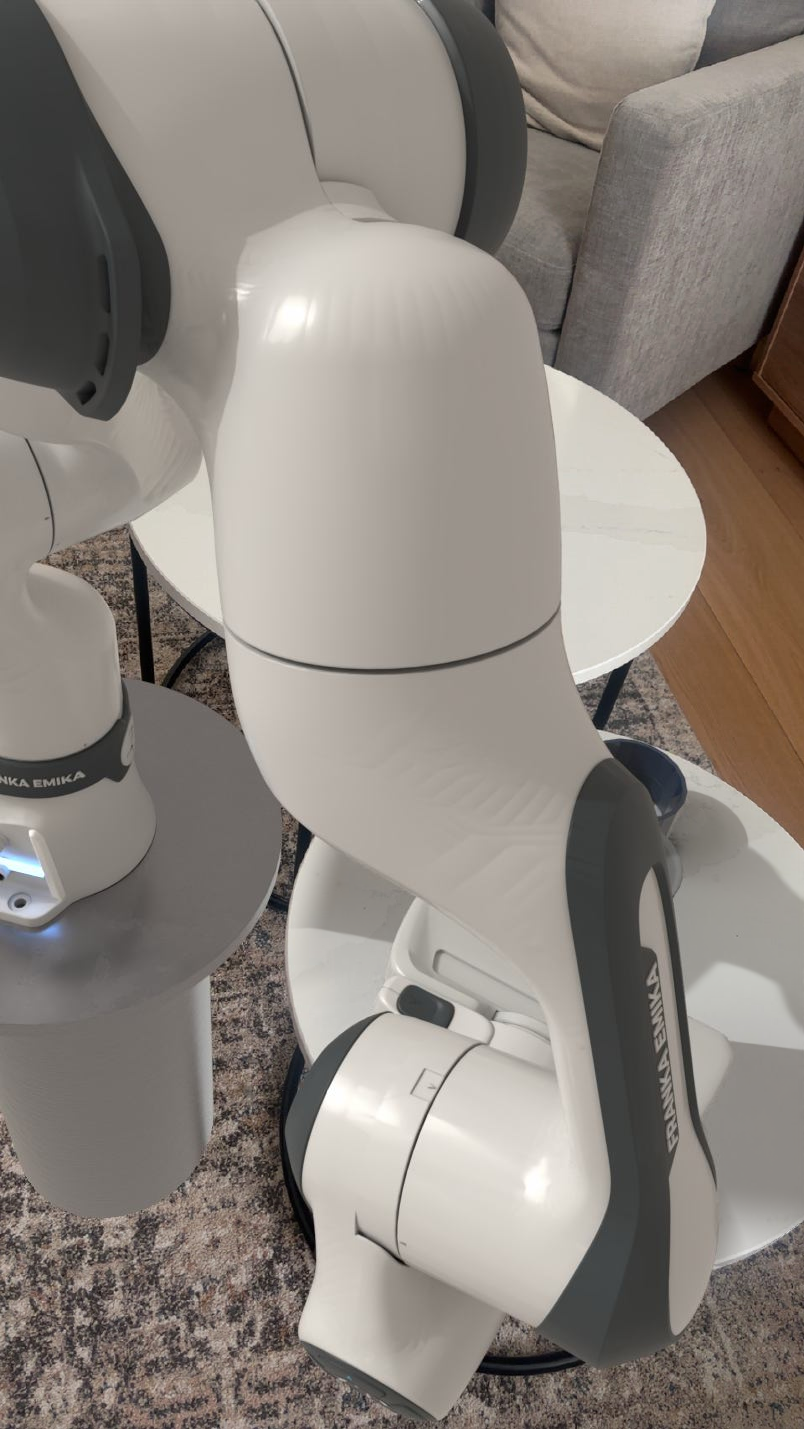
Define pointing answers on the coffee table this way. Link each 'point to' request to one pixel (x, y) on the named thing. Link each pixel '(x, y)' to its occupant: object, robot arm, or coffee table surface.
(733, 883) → the coffee table surface
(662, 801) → the ring
